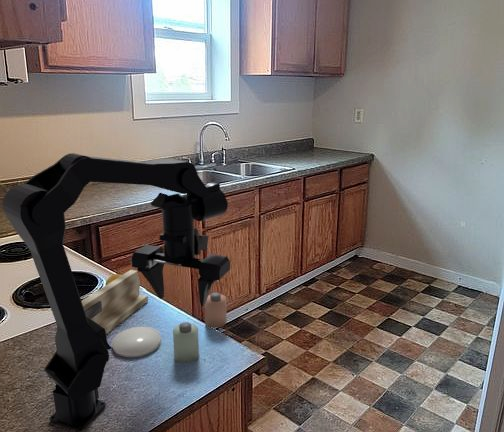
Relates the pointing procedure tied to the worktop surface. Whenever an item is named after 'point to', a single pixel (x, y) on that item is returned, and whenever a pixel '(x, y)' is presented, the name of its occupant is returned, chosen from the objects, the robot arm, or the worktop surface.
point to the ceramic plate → (136, 342)
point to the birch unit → (115, 301)
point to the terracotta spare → (215, 310)
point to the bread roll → (116, 278)
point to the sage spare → (186, 342)
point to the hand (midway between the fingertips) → (182, 301)
